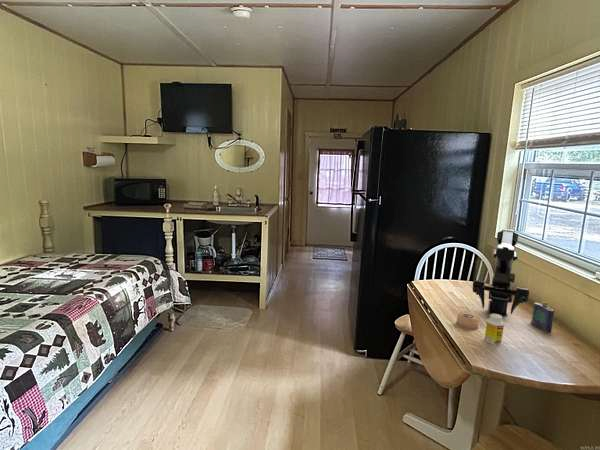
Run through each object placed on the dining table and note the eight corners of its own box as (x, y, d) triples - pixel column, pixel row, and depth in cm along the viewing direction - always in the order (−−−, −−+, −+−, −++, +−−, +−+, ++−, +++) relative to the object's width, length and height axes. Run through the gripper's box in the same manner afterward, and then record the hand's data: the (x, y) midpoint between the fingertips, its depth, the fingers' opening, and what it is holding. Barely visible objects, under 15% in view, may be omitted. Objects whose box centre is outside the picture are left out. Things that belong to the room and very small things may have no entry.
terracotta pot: (476, 322, 149) (477, 313, 148) (479, 331, 141) (481, 321, 140) (455, 319, 151) (456, 310, 150) (457, 327, 143) (458, 318, 143)
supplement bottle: (496, 346, 129) (499, 320, 127) (481, 340, 133) (484, 314, 132) (504, 343, 132) (507, 316, 130) (489, 336, 136) (492, 311, 135)
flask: (529, 322, 151) (533, 298, 149) (535, 322, 151) (539, 298, 149) (547, 332, 142) (551, 306, 140) (553, 332, 142) (558, 306, 140)
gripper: (476, 260, 141) (469, 294, 133) (532, 268, 131) (528, 306, 123) (476, 274, 148) (469, 308, 141) (529, 283, 139) (525, 320, 131)
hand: (496, 310), depth 134 cm, fingers open, 9 cm apart
